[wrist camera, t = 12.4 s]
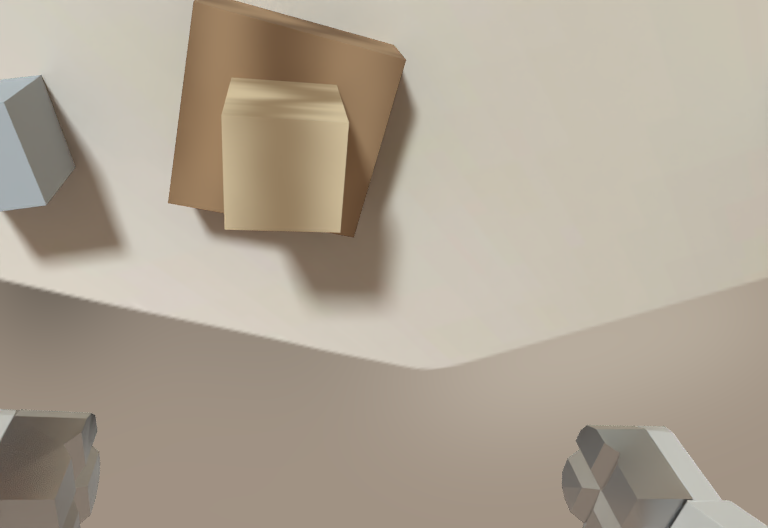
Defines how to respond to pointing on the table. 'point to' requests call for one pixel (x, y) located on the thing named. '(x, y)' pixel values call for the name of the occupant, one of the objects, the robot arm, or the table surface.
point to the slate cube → (30, 145)
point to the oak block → (283, 156)
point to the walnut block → (279, 63)
